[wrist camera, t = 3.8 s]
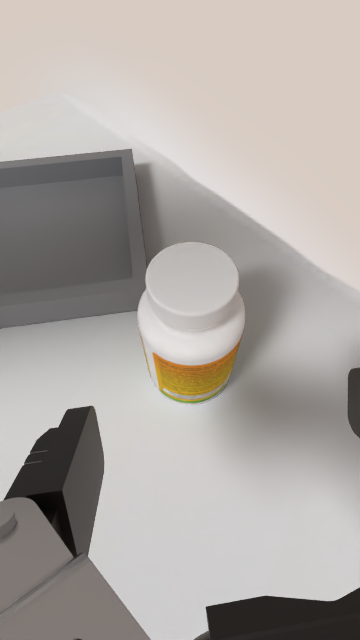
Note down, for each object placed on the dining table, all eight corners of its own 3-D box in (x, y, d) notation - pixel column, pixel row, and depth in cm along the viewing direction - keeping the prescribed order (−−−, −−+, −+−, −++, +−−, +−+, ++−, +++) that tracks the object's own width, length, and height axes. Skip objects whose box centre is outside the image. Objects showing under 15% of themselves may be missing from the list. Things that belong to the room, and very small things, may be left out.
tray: (-74, 337, 24) (-99, 319, 22) (-33, 190, 32) (-49, 166, 30) (152, 308, 25) (149, 288, 23) (135, 173, 33) (131, 149, 31)
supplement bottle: (247, 376, 22) (285, 287, 14) (179, 424, 21) (175, 356, 12) (198, 318, 24) (206, 212, 16) (134, 357, 23) (105, 262, 15)
